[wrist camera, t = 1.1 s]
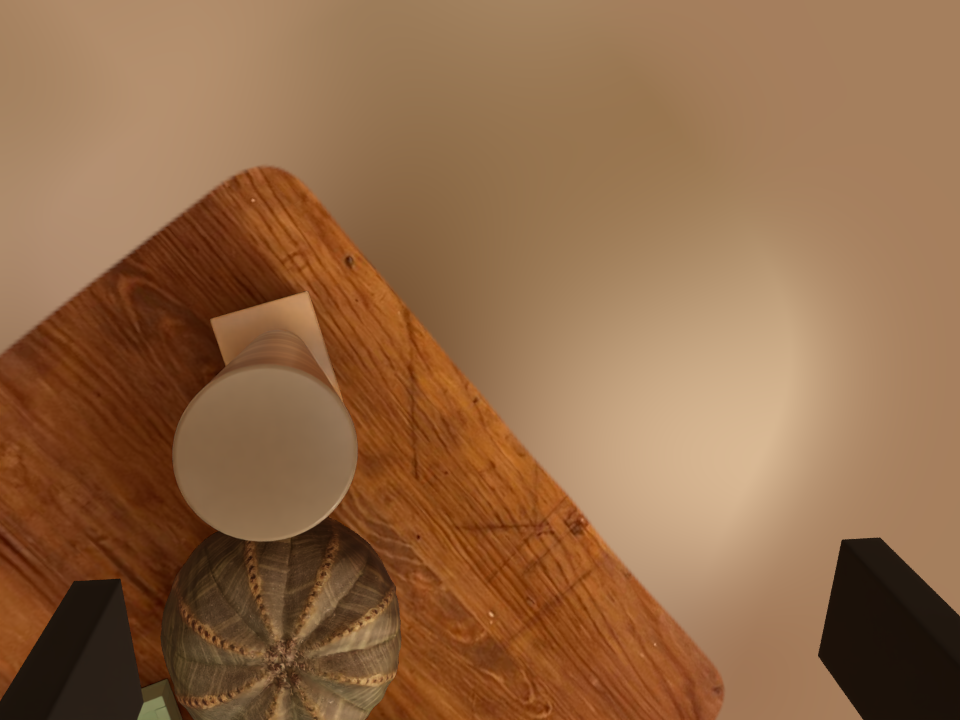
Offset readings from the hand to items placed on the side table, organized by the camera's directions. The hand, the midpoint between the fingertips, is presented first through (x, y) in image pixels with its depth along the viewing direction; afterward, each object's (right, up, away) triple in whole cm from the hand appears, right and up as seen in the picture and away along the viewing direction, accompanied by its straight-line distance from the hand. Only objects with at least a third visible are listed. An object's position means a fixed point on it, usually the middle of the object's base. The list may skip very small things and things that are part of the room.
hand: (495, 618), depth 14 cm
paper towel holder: (-11, +5, +29) cm, 31 cm away
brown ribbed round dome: (-11, -8, +30) cm, 32 cm away
